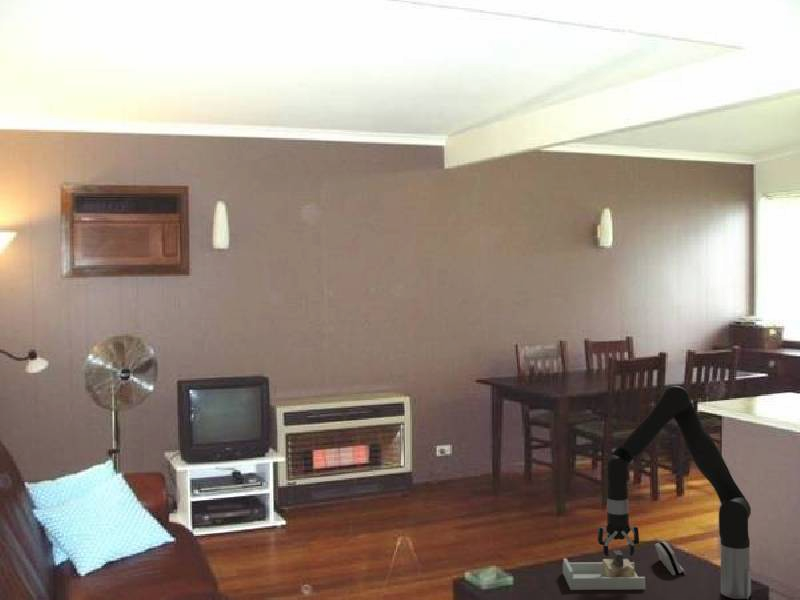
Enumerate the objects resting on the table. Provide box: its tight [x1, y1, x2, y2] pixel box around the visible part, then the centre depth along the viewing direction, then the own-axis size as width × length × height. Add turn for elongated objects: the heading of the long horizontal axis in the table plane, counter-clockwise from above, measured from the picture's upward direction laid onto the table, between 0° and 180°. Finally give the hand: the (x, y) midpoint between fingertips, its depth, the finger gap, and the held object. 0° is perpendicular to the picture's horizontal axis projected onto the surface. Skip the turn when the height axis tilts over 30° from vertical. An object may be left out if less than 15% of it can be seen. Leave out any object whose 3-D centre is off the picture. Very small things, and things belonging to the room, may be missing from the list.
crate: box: [602, 549, 635, 577], centre depth 299 cm, size 9×10×9 cm
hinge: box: [654, 540, 687, 576], centre depth 312 cm, size 17×5×10 cm, turn 178°
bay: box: [562, 557, 646, 591], centre depth 299 cm, size 26×16×6 cm, turn 88°
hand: (618, 555), depth 298 cm, fingers open, 8 cm apart
